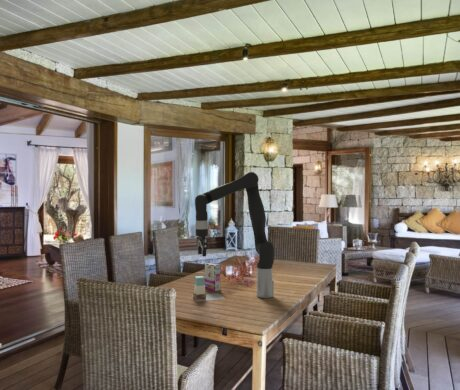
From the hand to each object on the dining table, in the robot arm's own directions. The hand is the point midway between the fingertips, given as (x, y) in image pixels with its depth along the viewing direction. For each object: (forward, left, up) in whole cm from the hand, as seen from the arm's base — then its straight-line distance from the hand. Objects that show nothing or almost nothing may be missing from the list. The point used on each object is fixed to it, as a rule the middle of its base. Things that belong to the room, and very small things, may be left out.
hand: (202, 255), depth 237 cm
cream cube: (+3, +4, -21) cm, 22 cm away
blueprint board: (-3, +4, -25) cm, 25 cm away
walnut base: (+3, +4, -24) cm, 25 cm away
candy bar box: (-11, -14, -25) cm, 31 cm away
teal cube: (+3, +4, -16) cm, 17 cm away
